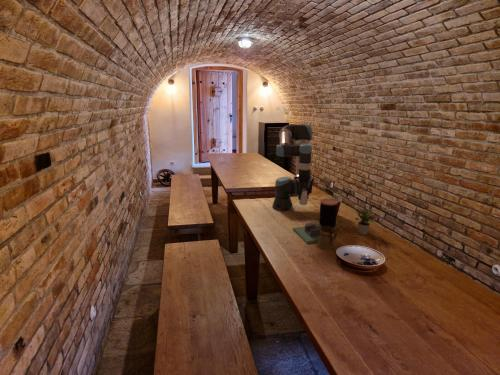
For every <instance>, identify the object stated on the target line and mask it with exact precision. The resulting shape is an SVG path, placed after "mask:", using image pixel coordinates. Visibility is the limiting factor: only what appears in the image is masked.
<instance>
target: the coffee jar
mask: <svg viewBox="0 0 500 375" xmlns="http://www.w3.org/2000/svg"><path fill="white" fill-rule="evenodd" d="M337 203H338V202H337V201H336V200H333V199H329V198H323V199H320V204H319V205H320V206H319V219H318V224H320V225H321V227H322V226H328V227H331V228H333V227H334V226H335V225H336V224H337V217H338V215H337Z"/></svg>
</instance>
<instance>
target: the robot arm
mask: <svg viewBox="0 0 500 375" xmlns="http://www.w3.org/2000/svg"><path fill="white" fill-rule="evenodd" d="M278 139H279V144H277V145H276V148H275V149H276V152H275V153H276V156H277V157H296V159H295V176H293V179H292V178H291V176H290V177H289V176H281V177H278V178H277V179H275V184H274V188H275V191H274V192H275V193H274V199H273V202H272V208H273V210H276V211H279V212H280V211H281V212H284V211H285V212H286V211H291V210H292V209H293V202H292V198H291V196H297V199H298V204H299V205H300V206H303V205H302V195H301V193H302V189H306V190H307V200H308V199H309V196H310V194H312V191H313V185H314V181H315V178H313V177H311V172H312V171H311V167H312V155H313V154H312V151H313V148H312V147H313V146H312V145H311V144H310V143H311V140H313V131H312V126H311V124H305V123H304V124H287V125H285V126H283V127H282V128H280V130H279V132H278ZM291 141H294V143H295V144H291ZM306 205H308V202H307V203H306Z"/></svg>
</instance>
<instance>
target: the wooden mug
mask: <svg viewBox="0 0 500 375" xmlns="http://www.w3.org/2000/svg"><path fill="white" fill-rule="evenodd" d="M342 223H343V221H342V220H341V221H339V222H337V223H336V225H335V226H334V227H333V228H331V227H328V226H322V227H321V229H320V235H319V240H318V242H316V243H317V244H316V247H317V248H318V249H320V250H332V249H333V248H334V241H335V240H336V239H337V237H338V230H337V228H339V227H340V226H341V225H342Z"/></svg>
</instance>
